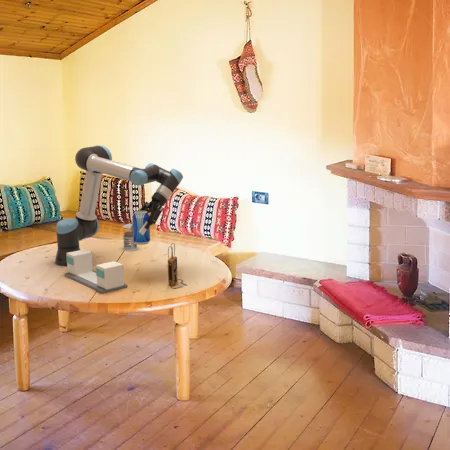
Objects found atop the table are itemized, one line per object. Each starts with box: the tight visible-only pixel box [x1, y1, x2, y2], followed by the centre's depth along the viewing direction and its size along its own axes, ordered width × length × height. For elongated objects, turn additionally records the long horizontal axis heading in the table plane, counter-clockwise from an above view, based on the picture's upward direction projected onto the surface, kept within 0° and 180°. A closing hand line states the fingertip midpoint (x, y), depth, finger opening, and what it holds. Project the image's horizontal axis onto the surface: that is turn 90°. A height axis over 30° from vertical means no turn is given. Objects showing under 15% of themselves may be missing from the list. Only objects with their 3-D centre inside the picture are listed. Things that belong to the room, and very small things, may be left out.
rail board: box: [63, 249, 128, 294], centre depth 322 cm, size 38×14×12 cm, turn 41°
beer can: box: [131, 210, 151, 246], centre depth 323 cm, size 8×8×16 cm
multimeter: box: [167, 243, 189, 289], centre depth 316 cm, size 15×10×20 cm
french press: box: [121, 207, 140, 252], centre depth 380 cm, size 10×12×25 cm
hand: (135, 231), depth 322 cm, fingers closed on beer can, 8 cm apart
